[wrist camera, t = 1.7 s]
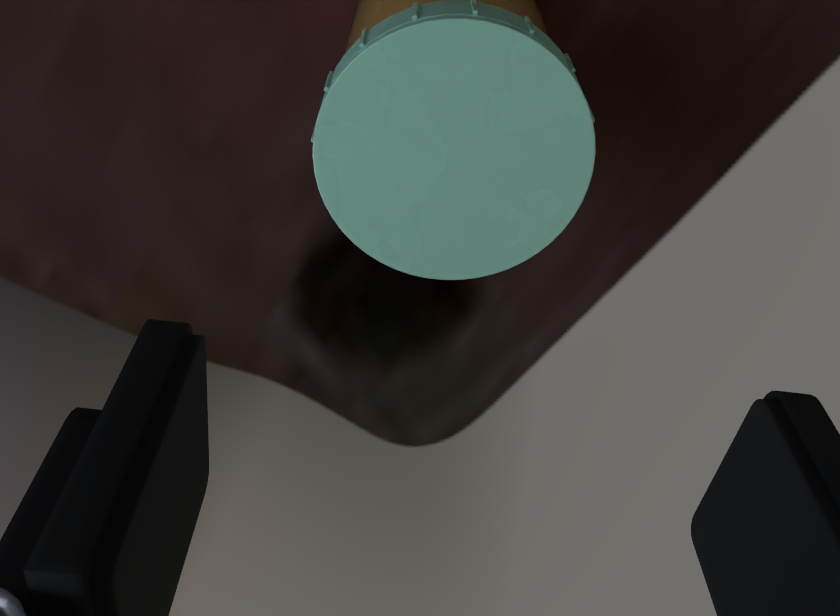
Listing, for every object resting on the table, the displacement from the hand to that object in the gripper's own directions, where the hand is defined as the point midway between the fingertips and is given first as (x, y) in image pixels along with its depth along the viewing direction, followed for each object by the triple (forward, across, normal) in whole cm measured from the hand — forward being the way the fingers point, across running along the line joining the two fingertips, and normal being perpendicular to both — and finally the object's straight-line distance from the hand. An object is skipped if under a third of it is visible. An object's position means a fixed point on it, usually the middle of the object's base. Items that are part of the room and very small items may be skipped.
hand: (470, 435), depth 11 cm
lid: (+9, 0, 0) cm, 9 cm away
